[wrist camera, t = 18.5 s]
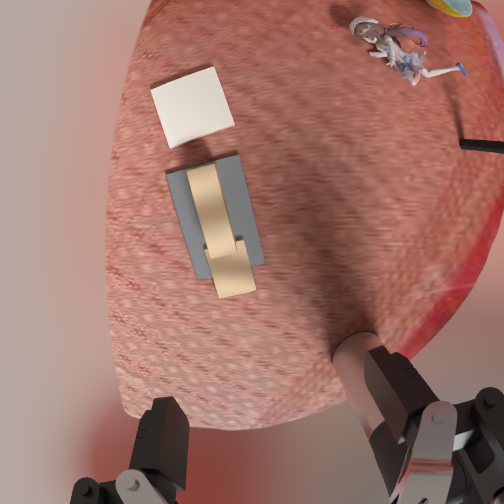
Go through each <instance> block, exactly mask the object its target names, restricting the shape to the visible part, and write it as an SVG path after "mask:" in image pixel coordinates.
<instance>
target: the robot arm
mask: <svg viewBox="0 0 504 504" xmlns="http://www.w3.org/2000/svg"><path fill="white" fill-rule="evenodd" d="M332 362H333V365H334V368H335V370H336V372H337V374H338V376H339V378H340V381H341V383H342V385H343V387H344V389H345V391H346V393H347V395H348V398H349V400H350V402H351V404H352V406H353V408H354V410H355V412H356V414H357V417H358V419H359V421H360V423H361V425H362V427H363V430H364V432H365V434H366V436H367V438H368V441H369V443H370V445H371V447H372V450H373V452H374V455H375V459H376V461H377V464H378V467H379V469H380V471H381V474H382V476H383V479H384V482H385V484H386V488H387V491H388V494H389V497H390V500H389V502H388V504H504V395H503V393H502V392H501V391H500V390H499V389H497V388H493V387H488V388H484V389H482V390H481V391H480V392H479V393H478V394H477V396H476V398H475V399H474V400H471V401H467V402H463V403H460V404H454V405H452V404H450V403H449V402H446V401H440V400H439V399H438V398H437V397H436V395H435V394H434V393H433V391H432V390H431V389H430V387H429V386H428V385H427V383H426V382H425V381H424V379H423V378H422V377H421V375H420V374H418V371H417V370H416V369H415V368H414V367H413V365H412V364H411V362H410V361H409V360H408V359H407V357H405V356H403V355H401V354H399V353H398V352H395V353H393V354H390V353H389V351H388V350H387V349H386V347H385V346H384V345H383V343H382V342H381V341H380V339H379V338H378V337H377V336H376V335H375V334H373V333H371V332H360V333H357V334H354V335H352V336H350V337H348V338H347V339H345V340H344V341H343V342H342V343H341V344H340V345H339V346H338V347H337V349H336V350H335V352H334V355H333V359H332ZM189 429H190V428H189V422H188V419H187V417H186V415H185V414H184V412H183V411H182V409H181V408H180V406H179V405H178V403H177V402H176V400H175V399H174V397H172V396H170V397H160V398H155V399H154V401H153V405H152V409H151V410H146V412H145V413H144V415H143V416H142V418H141V419H140V422H139V426H138V431H137V435H136V439H135V443H134V448H133V452H132V457H131V461H130V466H129V469H128V470H127V471H124V472H122V473H121V474H120V475H119V476H118V478H117V480H114V481H108V482H103V483H97V482H96V481H95V480H93V479H91V478H87V477H86V478H81V479H79V480H78V481H77V482H76V483H75V485H74V488H73V492H72V496H71V501H70V504H181V503H180V502H179V501H178V500H177V499H176V491H185V488H186V470H187V455H188V442H189V441H188V440H189Z"/></svg>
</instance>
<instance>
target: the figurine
mask: <svg viewBox="0 0 504 504" xmlns="http://www.w3.org/2000/svg"><path fill="white" fill-rule="evenodd" d="M377 23H378V21H376V20H374V19H370V18H365V17H358V18H355V19H354V20H353V21H352V22H351V23H350V25H349V28H350V32H351V33H352V35H353V36H355V35H356V36H357V37H358V38H359V39H360V40H366V41H368V42H370V43H372V44H373V43H375V45H376V46H377V49H378V50H380V51H381V52H374V53H373V52H369V53H370V55H371V56H375V57H387V56H388V54H387V53H389V57H388V60H390V61H389V63H387V64H388V65H389V64H391V67H392V66H393V68H394V69H395V70H396V71H397V72H398V73H400V74H401V76H402V77H403V78H406V79H408V81H409V82H410V83H411V84H412V85H416V83H417V82H418V81H419V79H420V75H421V74H422V75H424V76H425V77H429V78H430V77H433V76H436V75H439V74H443V73H446V72H449V71H455V70H460V71H461V72H462V73H463V74H464V75H465V76H468V75H467V72H466V70H465V69H464V67H463V66H462V64H461V63H460V62H459V63H457V64H456V65H453V66H451V67H443V68H432V69H430V70H427V69H426V68H425V67H424V66H423V65H422V63H423V62H424V54H425V55H426V51H423V52H420V51H405V50H403V49H401V45H400V43H399V41H398V40H397V38H396V37H395V36H400V37H403V36H417V37H419V38H420V39H421V38H422V39H423V40H424V42H425V46H421V45H422V40H421V42H420V44H418V43H416V44H418V45H420V46H421V47H426V46H427V42H428V40H427V37H426V36H425V35H424V34H423V33H422V32H420V31H419V30H416V29H413V27H412V28H407V27H399V26H400V25H401V23H400V22H399V23H400V24H399V26H398V25H396V23H393V25H394V24H395V25H396V27H395V26H394V28H393V27H392V26H393V25H392V26H390V25H389V28H387V29H386V28H385V29H384V28H383V27H381V26H379V25H377ZM397 23H398V22H397ZM409 25H410V24H409ZM397 26H398V27H399V28H398V27H397ZM390 27H391V28H392V29H391V28H390ZM391 37H392V38H394V39H395V40H396V41H397V43H398V45H399V46H400V47H398V45H397V44H396V42H395V43H394V42H393V39H392V38H391ZM413 42H414V41H413ZM414 43H415V42H414ZM412 74H414V75H412Z"/></svg>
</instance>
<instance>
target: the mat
mask: <svg viewBox="0 0 504 504" xmlns="http://www.w3.org/2000/svg"><path fill="white" fill-rule="evenodd" d="M214 163H216V166H217V170H218V174H219V178H220V182H221V186H222V190H223V193H224V197H225V201H226V205H227V209H228V213H229V217H230V221H231V225H232V229H233V232H234V236H235V240H240V239H244V243H245V247H246V251H247V255H248V259H249V263H250V267H252V266H256V265H260V264H263V263H265V259H264V255H263V251H262V247H261V243H260V238H259V234H258V230H257V226H256V222H255V218H254V213H253V209H252V205H251V201H250V197H249V193H248V189H247V185H246V181H245V176H244V172H243V168H242V164H241V160H240V156H239V155H235V156H231V157H227V158H223V159H219V160H216V161H212V162H208V163H205V164H201V165H197V166H194V167H190V168H187V169H184V170H180V171H177V172H174V173H171V174H167V175H166V177H167V180H168V184H169V188H170V191H171V195H172V198H173V202H174V205H175V208H176V212H177V215H178V219H179V222H180V225H181V228H182V232H183V235H184V238H185V241H186V244H187V247H188V251H189V254H190V257H191V260H192V263H193V266H194V269H195V272H196V275H197V278H198V280H199V279H203V278H208V277H212V274H211V270H210V267H209V264H208V261H207V257H206V254H205V251H204V249H205V248H208V247H207V244H206V241H205V237H204V234H203V230H202V227H201V223H200V220H199V216H198V213H197V209H196V205H195V202H194V198H193V194H192V191H191V187H190V183H189V179H188V176H187V172H186V171H189V170H192V169H196V168H199V167H203V166H207V165H211V164H214Z"/></svg>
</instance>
